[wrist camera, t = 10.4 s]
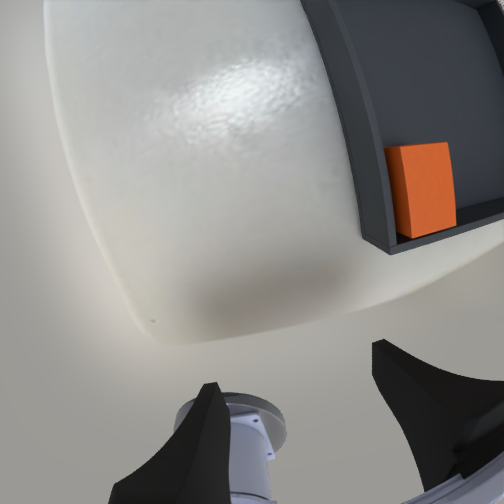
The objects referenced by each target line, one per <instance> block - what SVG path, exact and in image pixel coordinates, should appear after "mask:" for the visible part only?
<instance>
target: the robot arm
mask: <svg viewBox="0 0 504 504" xmlns="http://www.w3.org/2000/svg"><path fill="white" fill-rule="evenodd" d="M372 376H373V378H374V380H375V382H376V385H377V387H378V389H379V391H380V393H381V395H382V396H383V398H384V400H385V401H386V403H387V404H388V406H389V408H390V409H391V411H392V412H393V414H394V416H395V417H396V419H397V421H398V422H399V424H400V426H401V428H402V430H403V432H404V434H405V436H406V439H407V440H408V443H409V446H410V448H411V450H412V453H413V456H414V459H415V461H416V464H417V467H418V470H419V474H420V477H421V480H422V484H423V487H424V492H425V493H423V494H421V495H419V496H417V497H415V498H413V499H411V500H408V501H406V502H404V503H402V504H495V503H497V502H498V501H499V500H501V499H502V498H503V497H504V381H490V380H480V379H475V378H469V377H465V376H461V375H457V374H453V373H450V372H447V371H445V370H442V369H439V368H437V367H434V366H432V365H430V364H428V363H426V362H423V361H422V360H419V359H418V358H415V357H414V356H412V355H410V354H408V353H407V352H405V351H403V350H402V349H400V348H398V347H397V346H395V345H393V344H392V343H390V342H388V341H387V340H385V339H382V340H379V341H376V342H373V343H372ZM255 419H256V420H255ZM275 458H276V456H275V453H274V450H273V448H272V445H271V443H270V440H269V438H268V435H267V433H266V430H265V428H264V425H263V422H262V420H261V417H260V414H259V413H256V412H253V413H247V414H241V415H235V416H230V410H229V408H228V406H227V403H226V401H225V399H224V397H223V395H222V392H221V390H220V388H219V386H218V384H217V382H214V383H208V384H204V385H203V386H202V388H201V390H200V392H199V394H198V396H197V397H196V399H195V401H194V403H193V405H192V406H191V408H190V410H189V411H188V413H187V415H186V416H185V418H184V419H183V421H182V422H181V424H180V425H179V427H178V428H177V430H176V431H175V432H174V434H173V435H172V436H171V438H170V439H169V440H168V441H167V442H166V443H165V445H164V446H163V447H162V448H161V449H160V450H159V451H158V452H157V453H156V454H155V455H154V456H153V457H152V458H151V459H150V460H149V461H147V462H146V463H145V464H144V465H142V466H141V467H140V468H139V469H137V470H136V471H134V472H133V473H132V474H130V475H128V476H127V477H125V478H124V479H122V480H120V481H119V482H117V483H115V484H114V486H113V488H112V491H111V495H110V498H109V502H108V504H277V501H271V489H270V479H269V471H268V460H273V459H275Z"/></svg>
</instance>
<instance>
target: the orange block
mask: <svg viewBox="0 0 504 504" xmlns="http://www.w3.org/2000/svg"><path fill="white" fill-rule="evenodd" d="M383 149H384V154H385V159H386V164H387V170H388V176H389V182H390V189H391V195H392V203H393V211H394V220H395V230H396V231H397V232H399V233H401V234H403V235H406V236H408V237H410V238H415V237H419V236H422V235H426V234H429V233H433V232H436V231H439V230H443V229H446V228H449V227H453V226H456V208H455V195H454V184H453V175H452V168H451V160H450V154H449V148H448V143H447V142H434V143H419V144H407V145H399V146H391V147H383Z"/></svg>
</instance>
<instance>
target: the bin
mask: <svg viewBox="0 0 504 504" xmlns="http://www.w3.org/2000/svg"><path fill="white" fill-rule="evenodd" d="M301 2H302V5H303V7H304V10H305V12H306V14H307V17H308V20H309V22H310V25H311V27H312V30H313V33H314V35H315V38H316V41H317V44H318V46H319V49H320V52H321V55H322V58H323V61H324V64H325V67H326V70H327V74H328V77H329V80H330V83H331V87H332V90H333V94H334V97H335V101H336V104H337V108H338V112H339V116H340V120H341V124H342V128H343V132H344V136H345V140H346V145H347V149H348V154H349V159H350V163H351V168H352V173H353V179H354V184H355V190H356V195H357V202H358V208H359V214H360V221H361V228H362V236H363V239H364V240H366V241H368V242H369V243H371V244H373V245H374V246H376V247H377V248H379V249H381V250H382V251H384V252H385V253H387V254H389V255H393V254H397V253H400V252H404V251H407V250H410V249H413V248H417V247H420V246H423V245H426V244H430V243H433V242H436V241H439V240H442V239H445V238H449V237H452V236H455V235H458V234H461V233H464V232H467V231H470V230H473V229H476V228H479V227H482V226H485V225H487V224H490V223H493V222H496V221H499V220H502V219H504V11H503V9H502V7H501V5H500V3H499V1H498V0H301ZM434 142H447V143H448V148H449V154H450V160H451V168H452V175H453V184H454V195H455V208H456V226H453V227H449V228H446V229H443V230H439V231H436V232H433V233H429V234H426V235H422V236H419V237H415V238H410V237H408V236H406V235H403V234H401V233H399V232H397V231H396V230H395V220H394V211H393V203H392V195H391V189H390V182H389V176H388V170H387V164H386V159H385V154H384V149H383V147H391V146H399V145H407V144H419V143H434Z"/></svg>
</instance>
